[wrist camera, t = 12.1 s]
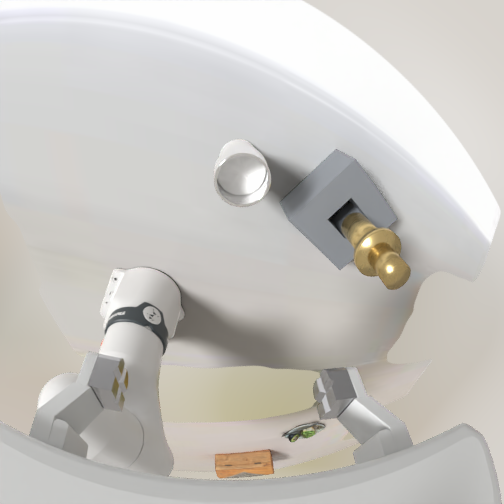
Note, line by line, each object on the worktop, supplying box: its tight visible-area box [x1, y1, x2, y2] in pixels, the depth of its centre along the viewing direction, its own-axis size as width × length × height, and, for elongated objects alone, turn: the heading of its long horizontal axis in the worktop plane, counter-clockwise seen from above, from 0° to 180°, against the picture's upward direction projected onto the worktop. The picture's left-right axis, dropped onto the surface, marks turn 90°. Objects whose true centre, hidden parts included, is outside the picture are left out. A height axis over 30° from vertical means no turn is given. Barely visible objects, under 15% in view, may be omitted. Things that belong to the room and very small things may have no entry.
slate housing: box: [280, 149, 398, 270], centre depth 45 cm, size 14×14×8 cm
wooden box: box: [215, 450, 274, 478], centre depth 114 cm, size 30×16×14 cm, turn 98°
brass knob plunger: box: [341, 212, 410, 290], centre depth 34 cm, size 7×7×14 cm
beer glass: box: [214, 139, 271, 207], centre depth 37 cm, size 7×7×15 cm
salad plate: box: [282, 422, 325, 442], centre depth 101 cm, size 19×18×5 cm
